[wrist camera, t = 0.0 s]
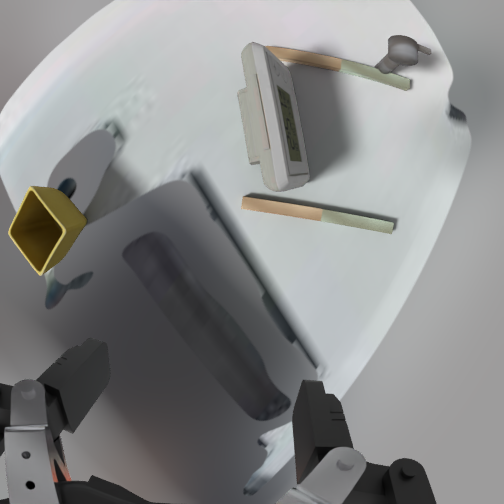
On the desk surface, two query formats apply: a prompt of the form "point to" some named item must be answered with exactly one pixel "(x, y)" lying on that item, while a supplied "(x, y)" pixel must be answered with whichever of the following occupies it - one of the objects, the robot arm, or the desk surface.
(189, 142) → the desk surface
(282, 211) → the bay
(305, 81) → the desk surface
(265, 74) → the digital clock
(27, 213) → the flower pot
